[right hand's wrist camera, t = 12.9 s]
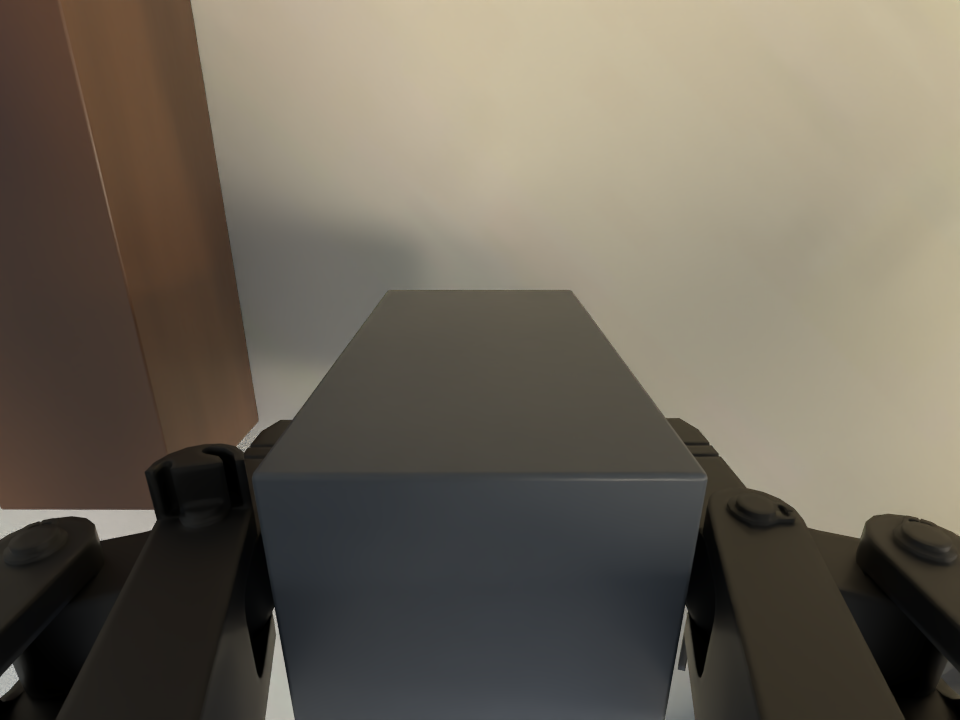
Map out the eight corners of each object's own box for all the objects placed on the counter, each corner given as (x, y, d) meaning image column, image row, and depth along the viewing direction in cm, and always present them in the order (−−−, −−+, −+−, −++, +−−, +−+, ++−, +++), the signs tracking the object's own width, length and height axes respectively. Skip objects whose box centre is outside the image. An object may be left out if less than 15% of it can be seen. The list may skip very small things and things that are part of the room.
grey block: (572, 289, 14) (711, 475, 6) (562, 451, 16) (656, 778, 7) (387, 289, 14) (247, 475, 6) (397, 451, 16) (303, 778, 7)
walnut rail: (102, -547, 13) (-210, -1136, 7) (259, 421, 21) (180, 510, 16) (-126, -547, 13) (-622, -1132, 7) (126, 421, 21) (0, 510, 16)
